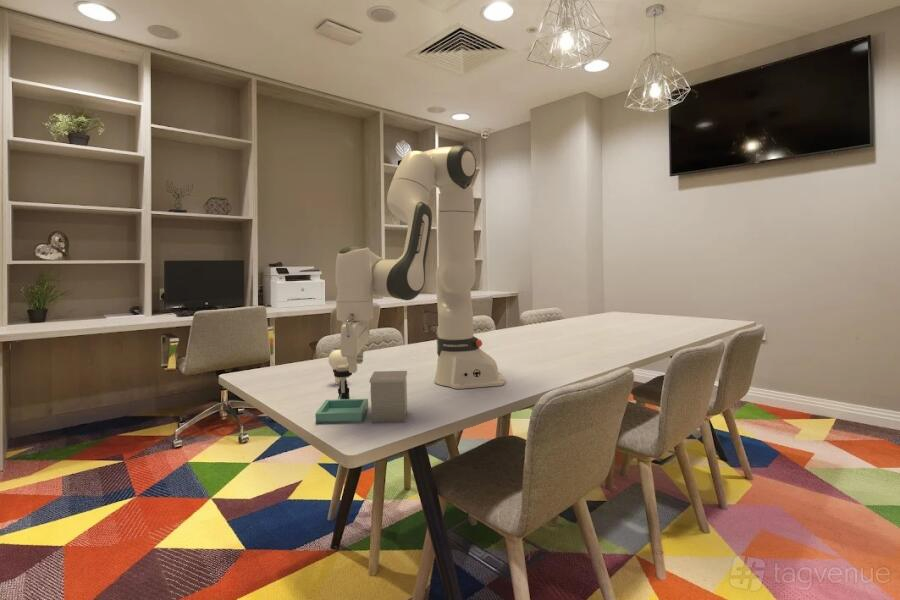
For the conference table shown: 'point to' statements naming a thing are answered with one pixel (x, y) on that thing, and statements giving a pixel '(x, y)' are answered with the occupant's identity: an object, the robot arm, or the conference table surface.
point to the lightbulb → (337, 361)
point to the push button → (342, 380)
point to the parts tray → (342, 411)
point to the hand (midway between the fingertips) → (356, 367)
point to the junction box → (388, 396)
